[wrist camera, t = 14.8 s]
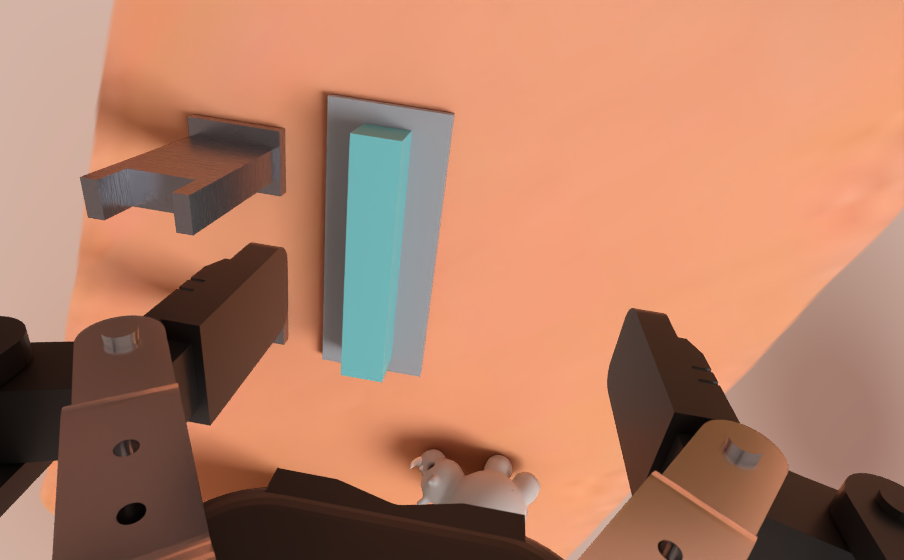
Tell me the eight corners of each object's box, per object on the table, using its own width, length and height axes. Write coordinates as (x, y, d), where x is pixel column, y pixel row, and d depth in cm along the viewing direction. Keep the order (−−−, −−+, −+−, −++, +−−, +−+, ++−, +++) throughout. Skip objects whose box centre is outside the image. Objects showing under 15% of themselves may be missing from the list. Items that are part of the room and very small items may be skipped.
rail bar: (363, 123, 38) (349, 133, 35) (411, 130, 38) (401, 141, 35) (352, 351, 47) (340, 374, 44) (391, 357, 47) (381, 382, 44)
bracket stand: (194, 114, 40) (69, 153, 29) (284, 128, 40) (192, 173, 28) (214, 325, 49) (123, 417, 37) (288, 338, 48) (218, 435, 37)
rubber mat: (331, 94, 38) (327, 95, 37) (454, 113, 38) (453, 115, 37) (325, 354, 49) (322, 359, 48) (421, 371, 48) (419, 376, 47)
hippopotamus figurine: (448, 407, 53) (403, 454, 46) (553, 478, 50) (522, 540, 42) (426, 456, 56) (381, 507, 49) (524, 526, 53) (490, 591, 46)
